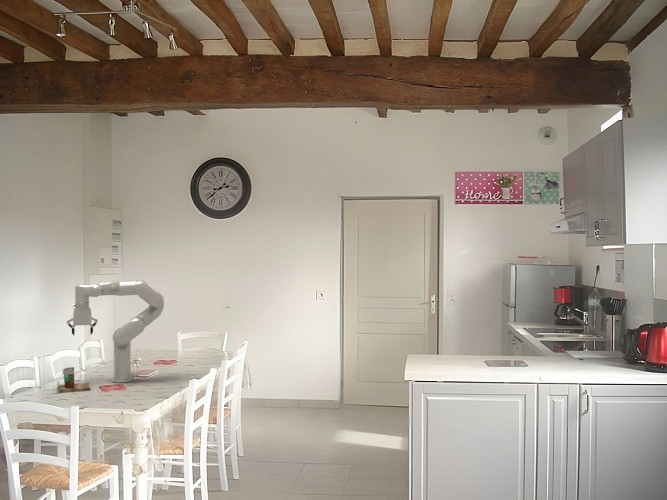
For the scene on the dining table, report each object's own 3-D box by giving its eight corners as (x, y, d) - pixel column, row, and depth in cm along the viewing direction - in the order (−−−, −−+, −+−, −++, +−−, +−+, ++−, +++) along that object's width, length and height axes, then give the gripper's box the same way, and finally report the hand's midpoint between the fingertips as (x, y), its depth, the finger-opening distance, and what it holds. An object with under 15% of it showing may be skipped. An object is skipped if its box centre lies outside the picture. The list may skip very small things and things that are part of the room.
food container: (62, 385, 397) (62, 367, 397) (74, 384, 399) (74, 366, 399) (62, 389, 385) (62, 371, 385) (74, 388, 387) (73, 370, 387)
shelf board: (89, 385, 404) (89, 379, 404) (90, 390, 389) (90, 384, 389) (57, 387, 398) (57, 381, 398) (57, 393, 383) (57, 386, 383)
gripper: (66, 306, 404) (66, 336, 404) (98, 305, 411) (98, 334, 411) (66, 305, 411) (66, 334, 411) (97, 304, 418) (97, 333, 418)
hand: (82, 334), depth 411 cm, fingers open, 9 cm apart
